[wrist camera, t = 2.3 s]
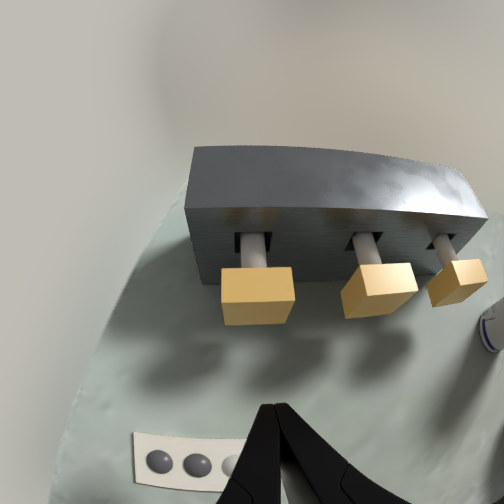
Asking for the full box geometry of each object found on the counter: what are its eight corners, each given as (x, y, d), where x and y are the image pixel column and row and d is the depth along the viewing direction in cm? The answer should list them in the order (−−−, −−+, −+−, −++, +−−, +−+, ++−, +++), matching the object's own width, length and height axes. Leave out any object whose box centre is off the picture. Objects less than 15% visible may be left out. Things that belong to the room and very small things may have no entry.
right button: (461, 302, 18) (488, 281, 15) (432, 307, 18) (460, 285, 15) (435, 231, 22) (454, 206, 19) (406, 231, 22) (425, 203, 19)
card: (266, 488, 14) (267, 490, 14) (138, 481, 13) (135, 482, 13) (264, 437, 16) (264, 438, 16) (135, 431, 16) (133, 432, 15)
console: (436, 273, 24) (488, 218, 16) (202, 284, 23) (184, 208, 15) (419, 228, 28) (459, 169, 20) (205, 228, 26) (194, 146, 18)
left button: (284, 323, 17) (295, 300, 14) (225, 325, 17) (221, 302, 14) (274, 229, 21) (280, 195, 18) (225, 230, 21) (223, 195, 18)
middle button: (391, 313, 18) (418, 290, 15) (345, 319, 17) (367, 295, 14) (367, 230, 22) (384, 199, 19) (326, 229, 22) (339, 197, 18)
